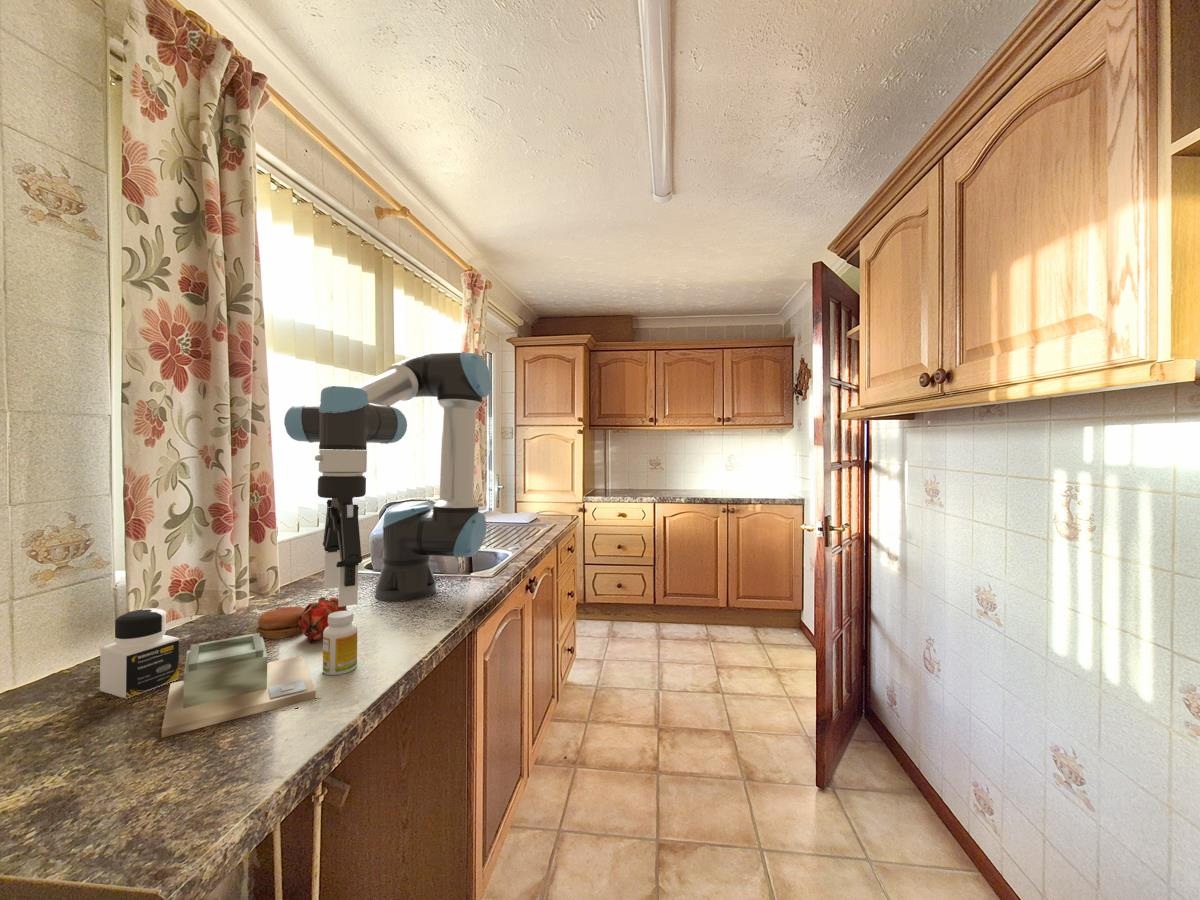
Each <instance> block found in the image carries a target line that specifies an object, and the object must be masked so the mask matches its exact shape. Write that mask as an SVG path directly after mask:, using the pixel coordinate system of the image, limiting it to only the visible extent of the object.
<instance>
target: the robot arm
mask: <svg viewBox="0 0 1200 900" xmlns="http://www.w3.org/2000/svg"><path fill="white" fill-rule="evenodd" d="M491 381H492V380H491V374H490V370H489V367H488V364H487V362H486V360H485V359H484V358H483V357H482V355H480V354H478V353H476V352H475V353H474V352H473V353H472V352H463V351H462V352H444V353H437V352H436V353H433V352H431V353H423V354H418V355H414V356H413V357H410V358H406V359H404V360H401V361H399V362H397V363H393V364H392V365H390V366H388V367H387V368H386V369H385V370H384V372H383V373H382V374H380V375H377V376H375V377H373V378H371V379H369V380H367V381H364V382H362V383H360V384H357V385H355V386H349V385H327V386H324V388H322V389H321V391H320V399H319V401H318V402H317V403H313V404H309V403H303V404H296V405H292V406H291V407H290V408H289V409H288V410H287V411H286V413H285V415H284V421H283V423H284V428H285V431H286V433H287V435H288V436H289V437H290V438H291V439H292V440H294V441H298V442H307V443H309V444H312V443H319V445H318V449H319V450H318V454H317V455H315V456H314V460H315V461H318V472H319V473H322V475H319V477H317V496H318V497H320V498H323V499H327V501H326V504H327V505H326V514H325V515H326V516H325V525H324V534H323V540H322V541H323V542H322V546H323V548H324V549H323V550H324V551H325V552H324V572H323V573H324V577H323V578H324V579H323V588H324V589H331V588H338V606H339V607H342V606H346V607H347V606H354V605H358V591H359V590H358V585H359V584H358V583H359V565H360V564H361V563H362V562H363V557H362V550H361V549H362V547H361V534H360V525H359V524H360V523H359V506H358V505H359V504H354V503H353V502H354V501H353V499H354V498H361V497H364V496H366V494H367V493H366V491H367V490H366V489H367V477H365V476H366V475H363V474H364V473H366V472H367V468H368V467H367V466H368V465H367V464H368V463H367V461H368V456H367V455H368V450H367V448H368V447H367V443H369V444H370V443H371V444H372V443H373V444H374V443H375V444H377V443H378V444H385V445H387V444H392V443H393V444H394V443H396V442H399V441H400V440H402V438H404V436H405V434H406V432H407V428H408V421H407V418H406V416H405V414H404V412H403V411H401V410H400V409H398V408H397V407H394V406H393V405H394V404H396V403H398V402H400V401H402V402H403V401H406V402H407V401H410V400H412V399H414V398H420V397H421V398H422V397H426V398H427V397H429V398H430V397H435V398H436V397H437V398H436V399H437V400H436V403H437V404H438V405H439V406H440V407H441V408H442V420H441V421H442V425H441V427H442V428H441V453H440V472H439V473H440V477H439V479H440V480H439V498H438V499H437V501H436V502H435V503H434V504H433V506H432V507H433V508H432V511H431V506H430V505H416V506H415V505H414V506H409V507H407V506H406V507H399V508H395V509H390V510H388V511H386V512H385V513H384V516H383V524H382V535H383V536H382V539H383V540H382V568H381V571H380V574H379V576H378V580H377V582H376V585H375V589H374V590H375V594H374V596H375V598H376V599H378V600H381V601H387V602H406V601H414V600H418V599H419V600H420V599H425V598H427V597H430V596H432V595H433V594H435V593H436V591H437V590H436V589H437V584H436V579H435V576H434V573H433V570H432V568H431V564H430V557H432V556H433V557H453V558H455V559H456V558H457V559H458V558H471V557H473V556H475V555H476V554H478V552H479V550H480V549H481V547H482V545H483V543H484V540H485V536H486V532H487V520H486V515H485V514H484V513H482V512H480V510H479V504H478V503H477V502H476V501H475V500H474V483H475V482H474V481H475V454H476V453H475V452H476V449H475V448H476V427H477V426H476V425H477V424H476V423H477V410H478V409H479V408H480V407H482V406H483V398H486V397H488V396H489V395H490V392H491V387H492V382H491Z"/></svg>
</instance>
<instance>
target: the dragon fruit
mask: <svg viewBox="0 0 1200 900" xmlns="http://www.w3.org/2000/svg"><path fill="white" fill-rule="evenodd" d="M304 608H305V610H304V611H303V613H302V614H301V616H300V617H299V627H300V628H299V630H300V631H302V633H301V634H303V635H304V636H305V637H307V641H308V643H309V644H311V643H313V642H318V641H320V640H323V632H324V630H325V628H326V627H328V626H329V624H328V615H329V614H331V613H334V612H338V611H348V609H347V606H342V607H339V606H338V598H337V597H335V596H334V597H330V598H329V599H326V598H325V597H324V596H323V597H319V598H318V601H317V602H312V603H309V604H308V605H307V606H306V607H304Z"/></svg>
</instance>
